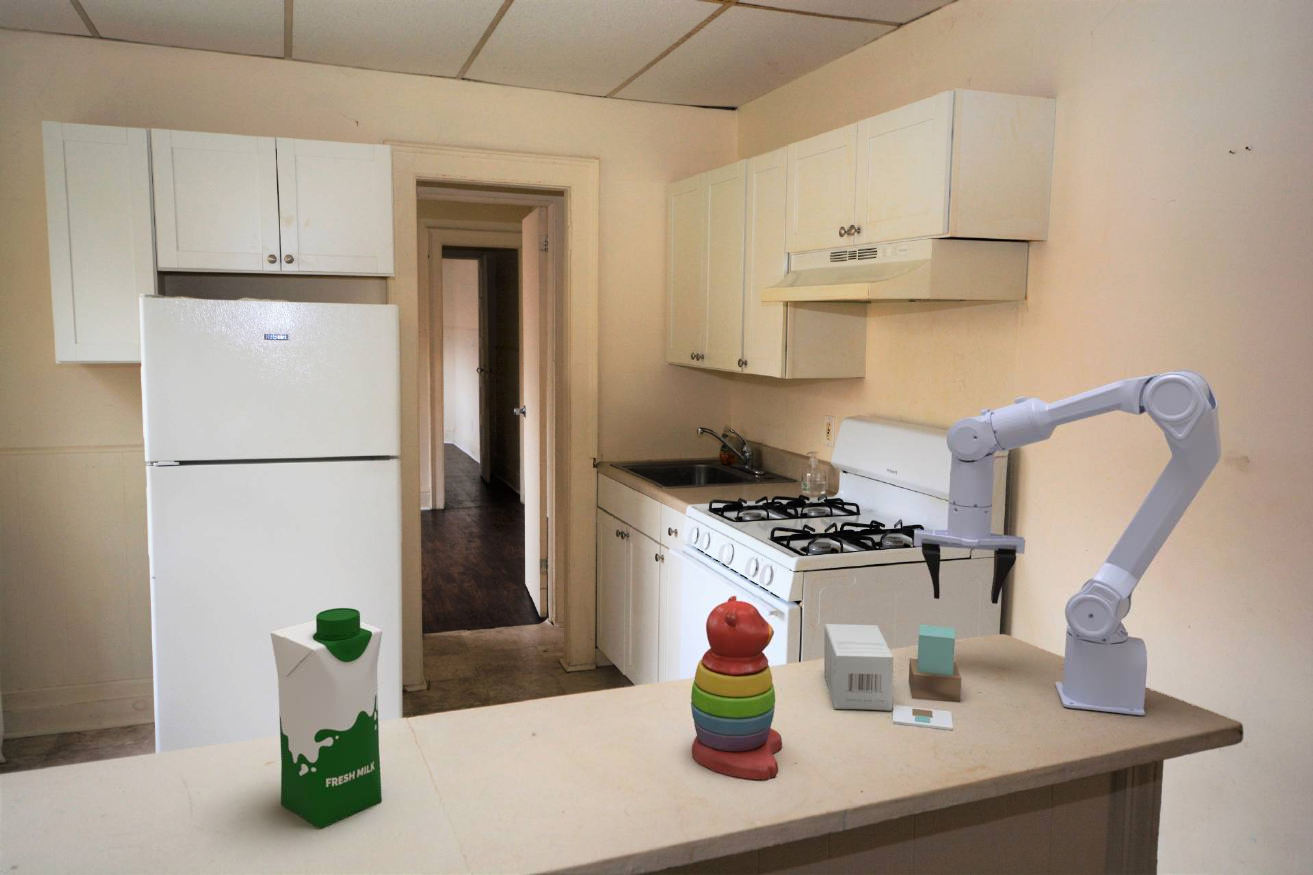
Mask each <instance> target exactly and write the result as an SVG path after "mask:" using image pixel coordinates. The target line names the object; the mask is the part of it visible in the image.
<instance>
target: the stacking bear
mask: <svg viewBox="0 0 1313 875" xmlns="http://www.w3.org/2000/svg"><path fill="white" fill-rule="evenodd" d="M705 629H706V630H705V631H706V637H707V641H708V644H709V647H710V648H708V650H706V651H705V653H704V654H703V655H702V658H701V659H700V660H699V662H698V663H697V665H696V666H697V667H696V669H695V674H694V680H693V681H692V682H693V683H692V685H691V696H690V699H691V700H690V705H691V706H690V708H691V716H692V719H693V724H694V729H695V732H696V733H695V734H696V735H695V737H694V740H693V742H692V747H691V754H692V757H693V758H694V759H695V761H696V762H698V763H699V765H702V766H704V767H706V768H707V769H709V768H710V770H712V771H715V772H717V773H721V774H724V775H728V776H730V777H731V776H732V777H736V778H743V779H747V780H749V779H750V780H768V779H771V778H774V777H775V776H777V773H778V771H779V764H778V761H777V759H776V758H775V756H774V755H773V754H775V753H776V752H778V751H779V750H781V749H782V747H783V741H782V736H781V733H779V732H778V731H777V730H776V729H774V728H771V727H772V723H773V721H774V716H775V708H776V707H775V706H776V705H775V704H776V692H775V686H774V683H773V677H772V670H771V667H770V665H769V659H768V657H767V656H766V655H765V653H764V650H765V649H766V648H767V647H768V646H769V645H770V643H771V641H772V639H773V637H774V634H775V631H774V629H773V626H772V625H771V624H769V622H768V621H767V620H766V619H765V618H764V617H763V616H762V614H761V613H760V612H759V610H758V608H756V606H755V605H753V604H751V603H749V602H747V601H743V600H742V601H741V600H737V596H736V595H733V596H732V595H731V596H730V597H729V598H728V599H727V601H726V602H725V601H724V602H723V603H722V602H721V603H720V604H718V605H716V606H715V607H714V608H713V609H712V610H711V611H710V613H709V614H708V617H707V620H706V622H705Z"/></svg>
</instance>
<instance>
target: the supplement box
mask: <svg viewBox="0 0 1313 875" xmlns="http://www.w3.org/2000/svg"><path fill="white" fill-rule="evenodd" d="M823 626H824V627H823V628H824V631H823V632H824V637H823V640H824V641H823V642H824V648H823V649H824V651H823V653H824V659H823V660H824V664H823V665H824V667H823V668H824V670H823V674H824V676H825V680H826V683H827V686H828V689H829V693H830V697H831V701H832V704H833V708H834V709H835V710H872V711H873V710H875V711H889V712H890V711H892V710H893V709H892V707H893V678H894V676H893V673H894V655H893V654H892V652H891V649H890V647H889V645H888V644H887V641H886V640H885V637H884V636H883V634H882V632H881V630H880V628H879V626H878V625H876V624H874V625H873V624H872V625H871V624H840V623H833V624H832V623H825V624H824V625H823Z"/></svg>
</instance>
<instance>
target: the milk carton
mask: <svg viewBox="0 0 1313 875" xmlns="http://www.w3.org/2000/svg"><path fill="white" fill-rule="evenodd" d="M315 617H316V618H315V619H314V620H312V621H311V620H310V621H307V622H304V623H299V624H295V625H291V626H287V627H284V628H279V629H276V630H272V631H270V638H271V644H272V649H273V653H274V655H273V656H274V662H275V666H276V672H277V681H278V682H277V683H278V686H277V687H278V705H279V706H278V708H279V709H278V710H279V734H280V735H279V736H280V737H279V738H280V760H281V762H280V763H281V764H280V765H281V767H280V768H281V770H280V772H281V773H280V776H281V777H280V779H281V780H280V805H281V806H283V807H284V808H286V809H287V810H289V811H291V812H292V813H294V814H296V815H297V816H298V817H300V818H302V819H303V820H305V821H307V822H308V823H310V824H311V825H313V826H314V827H316V828H317V829H322V828H324V827H327V826H330V825H331V824H334V823H336V822H339V821H340V820H343V819H345V818H347V817H349V816H352V815H354V814H356V813H359V812H360V811H363V810H365V809H368V808H370V807H372V806H375V805H377V804H379V803H381V802H383V798H382V778H381V760H380V759H381V758H380V757H381V756H380V739H379V738H380V735H379V734H380V733H379V732H380V730H379V726H380V725H379V692H378V690H379V689H378V686H379V684H378V662H379V656H380V648H381V642H382V638H383V637H382V636H383V629H381V628H378V627H376V626H374V625H371V624H368V623H365V622H362V621H361V613H360V611H359V610H357V609H356V608H349V607H338V608H331V609H326V610H323V611H322V610H321V611H320V612H318V613H317V614H316V616H315Z"/></svg>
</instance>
